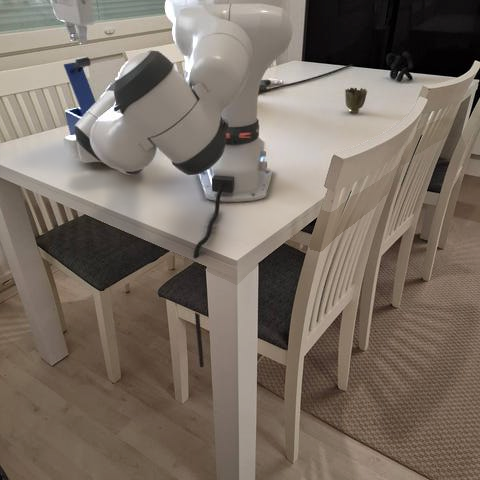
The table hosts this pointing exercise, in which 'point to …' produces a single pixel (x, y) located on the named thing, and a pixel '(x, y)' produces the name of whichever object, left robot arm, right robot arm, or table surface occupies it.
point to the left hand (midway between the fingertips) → (78, 42)
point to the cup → (355, 99)
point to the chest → (73, 118)
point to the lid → (80, 83)
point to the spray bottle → (268, 83)
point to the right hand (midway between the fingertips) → (93, 131)
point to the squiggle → (399, 66)
